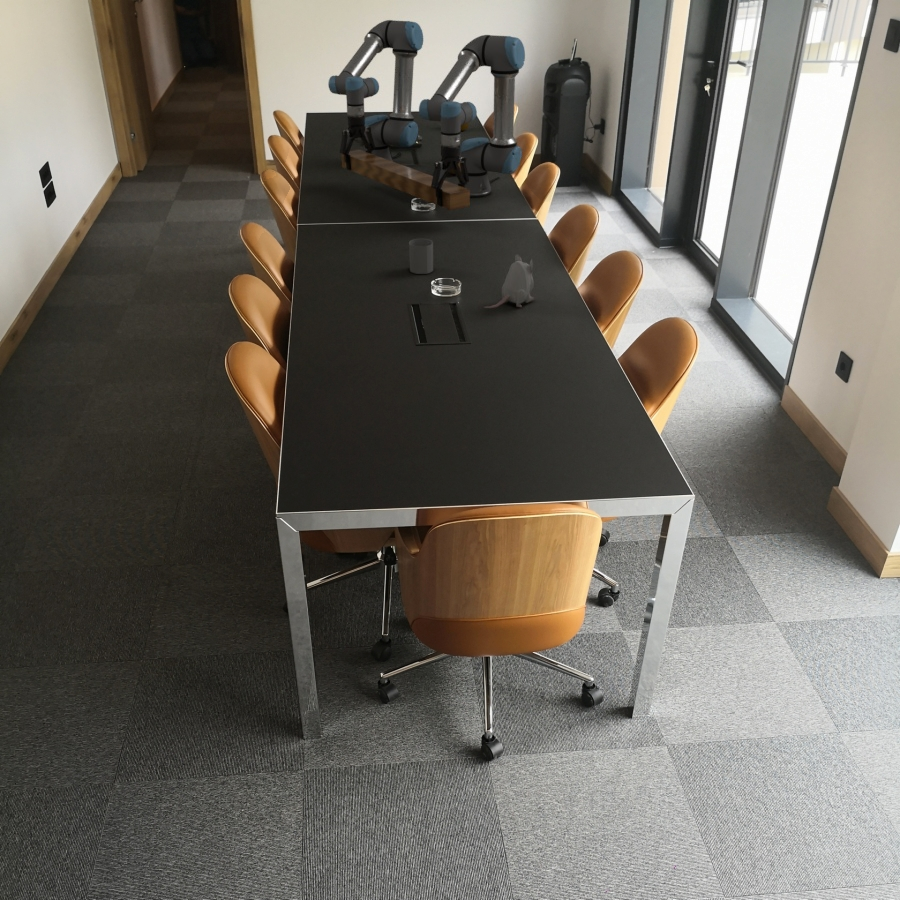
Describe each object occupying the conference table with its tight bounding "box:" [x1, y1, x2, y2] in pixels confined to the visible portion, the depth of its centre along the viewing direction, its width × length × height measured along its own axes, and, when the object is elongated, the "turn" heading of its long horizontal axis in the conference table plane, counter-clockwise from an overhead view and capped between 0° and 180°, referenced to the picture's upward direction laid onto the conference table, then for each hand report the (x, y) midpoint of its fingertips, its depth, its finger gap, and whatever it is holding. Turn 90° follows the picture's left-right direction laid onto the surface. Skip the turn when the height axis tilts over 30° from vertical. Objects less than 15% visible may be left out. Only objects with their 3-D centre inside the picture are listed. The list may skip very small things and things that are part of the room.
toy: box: [483, 253, 535, 309], centre depth 276 cm, size 9×24×15 cm, turn 137°
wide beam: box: [340, 149, 471, 211], centre depth 365 cm, size 80×10×6 cm, turn 38°
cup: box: [408, 237, 434, 275], centre depth 305 cm, size 8×8×10 cm
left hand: (358, 167), depth 389 cm, fingers closed on wide beam, 10 cm apart
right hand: (450, 203), depth 344 cm, fingers closed on wide beam, 10 cm apart
